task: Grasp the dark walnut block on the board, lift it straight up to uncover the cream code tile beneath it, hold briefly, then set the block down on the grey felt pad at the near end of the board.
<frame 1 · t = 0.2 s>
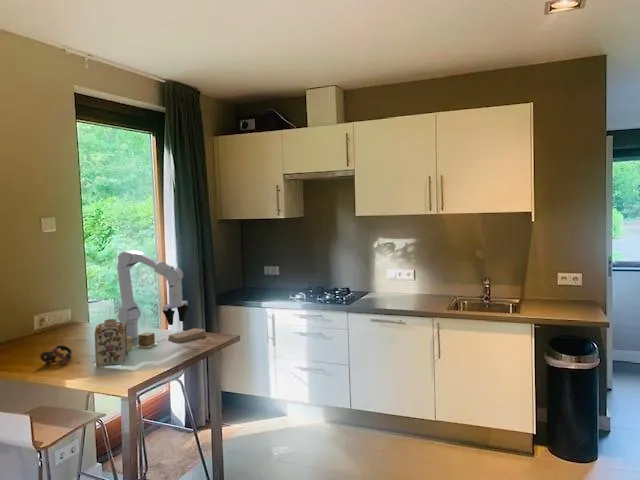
hand: (176, 322, 243), 10 cm above the table, tool pointing down, fingers open, 7 cm apart
decorative jar: (112, 362, 217), on the table
brick: (187, 342, 249), on the table
oak block: (124, 348, 232), point 1 cm above the table, touching board
pad: (154, 340, 245), resting on board
walnut block: (146, 344, 238), point 1 cm above the table, touching board
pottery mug: (55, 364, 217), on the table
board: (142, 347, 238), on the table
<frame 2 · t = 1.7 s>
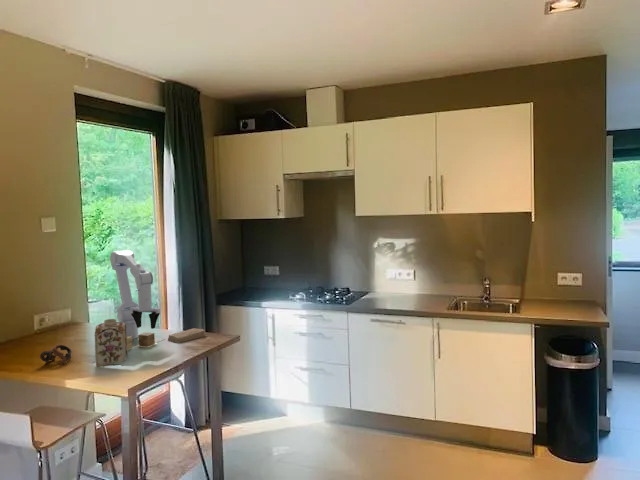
hand: (146, 327, 237), 9 cm above the table, tool pointing down, fingers open, 7 cm apart
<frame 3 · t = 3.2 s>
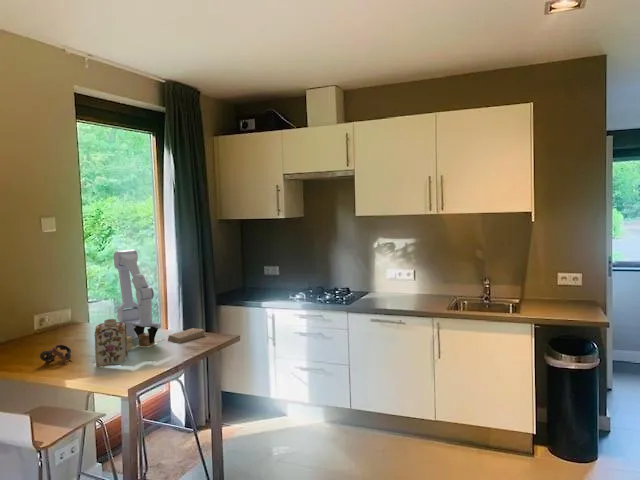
hand: (146, 342, 238), 2 cm above the table, tool pointing down, fingers closed on walnut block, 5 cm apart
walnut block: (146, 344, 238), point 1 cm above the table, touching board, gripper
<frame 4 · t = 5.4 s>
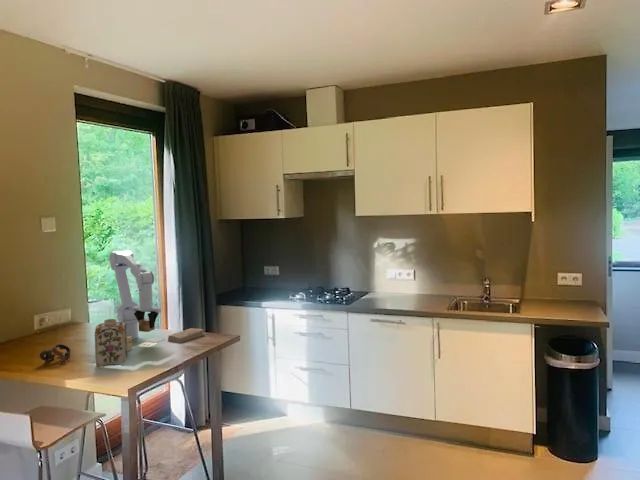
hand: (146, 327, 238), 9 cm above the table, tool pointing down, fingers closed on walnut block, 5 cm apart
walnut block: (146, 330, 238), point 8 cm above the table, touching gripper
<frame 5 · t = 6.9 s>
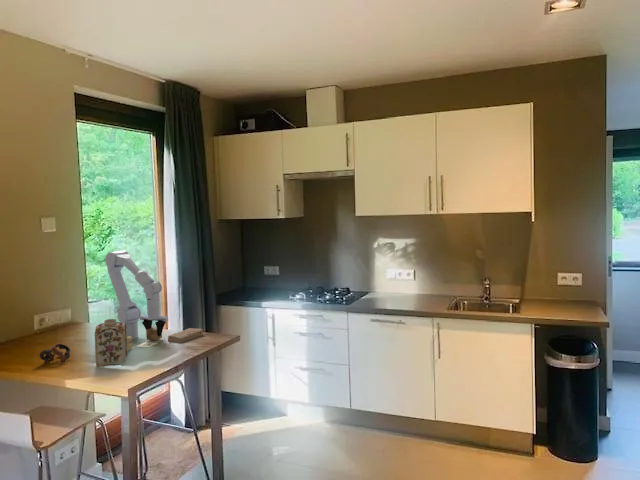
hand: (154, 335, 245), 4 cm above the table, tool pointing down, fingers closed on walnut block, 5 cm apart
walnut block: (154, 338, 245), point 2 cm above the table, touching gripper
when the fingers open (4 cm above the table, at t = 7.8 s): walnut block stays where it is, resting on pad.
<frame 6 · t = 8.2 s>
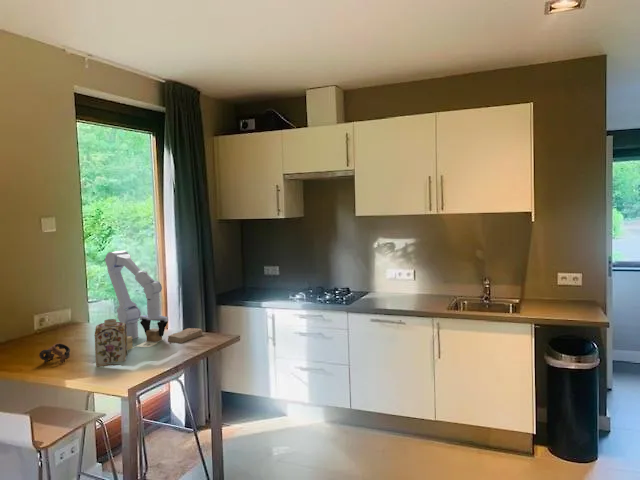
hand: (154, 335, 245), 4 cm above the table, tool pointing down, fingers open, 7 cm apart
walnut block: (154, 340, 245), point 1 cm above the table, touching pad
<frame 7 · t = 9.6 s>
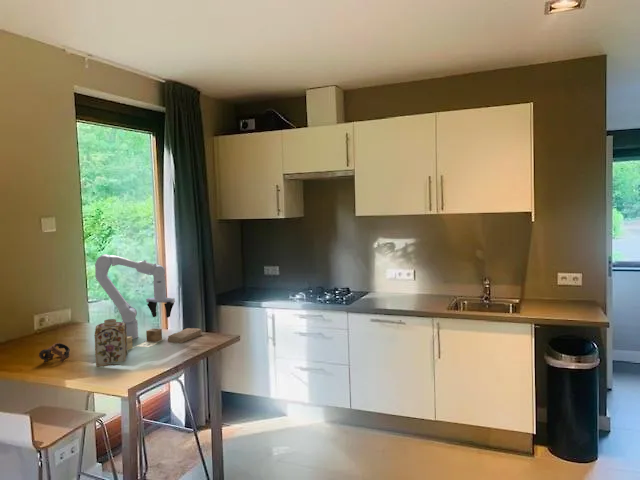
hand: (161, 316, 255), 10 cm above the table, tool pointing down, fingers open, 7 cm apart
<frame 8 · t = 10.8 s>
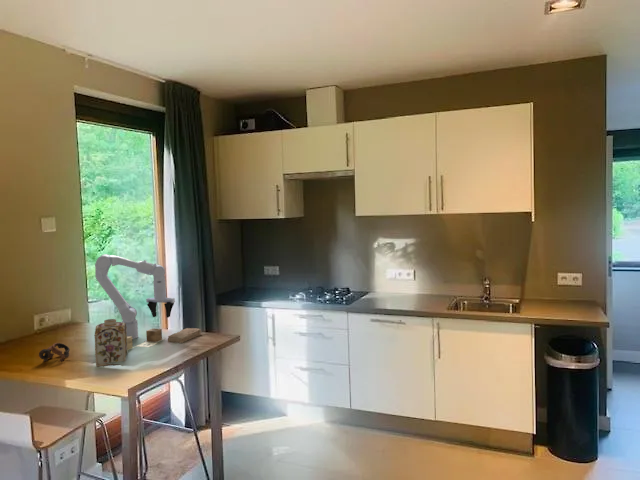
hand: (161, 316, 255), 10 cm above the table, tool pointing down, fingers open, 7 cm apart
at the end: walnut block 0.3 cm from the pad (horizontally); walnut block point 1.5 cm above the table; walnut block moved 7.3 cm from its start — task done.
